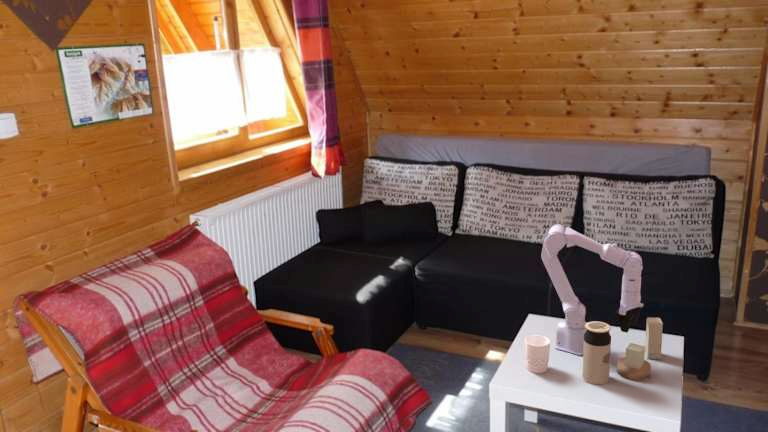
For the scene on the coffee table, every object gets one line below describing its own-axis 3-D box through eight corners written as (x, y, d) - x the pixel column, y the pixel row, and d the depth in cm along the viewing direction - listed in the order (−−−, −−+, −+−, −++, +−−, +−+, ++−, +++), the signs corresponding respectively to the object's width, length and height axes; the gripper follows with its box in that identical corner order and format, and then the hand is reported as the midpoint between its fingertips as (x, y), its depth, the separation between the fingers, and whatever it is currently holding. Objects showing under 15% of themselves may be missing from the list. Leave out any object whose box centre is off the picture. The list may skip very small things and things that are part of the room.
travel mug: (576, 376, 203) (578, 324, 199) (596, 370, 206) (598, 318, 202) (594, 387, 196) (597, 333, 192) (614, 381, 199) (617, 328, 195)
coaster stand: (612, 374, 203) (612, 366, 202) (623, 362, 211) (624, 354, 210) (644, 384, 197) (644, 375, 196) (654, 370, 204) (655, 362, 204)
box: (661, 359, 211) (663, 323, 208) (646, 358, 212) (649, 323, 209) (657, 352, 216) (660, 317, 213) (643, 351, 217) (646, 316, 214)
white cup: (552, 365, 211) (552, 337, 208) (545, 376, 204) (546, 348, 201) (528, 360, 214) (528, 333, 212) (521, 371, 208) (522, 343, 205)
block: (624, 365, 203) (625, 348, 201) (629, 359, 206) (630, 342, 204) (639, 369, 200) (640, 351, 198) (643, 363, 203) (645, 346, 202)
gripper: (635, 299, 202) (633, 338, 205) (651, 285, 212) (648, 322, 216) (613, 294, 206) (611, 333, 210) (629, 281, 217) (627, 317, 220)
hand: (628, 327), depth 213 cm, fingers open, 7 cm apart
